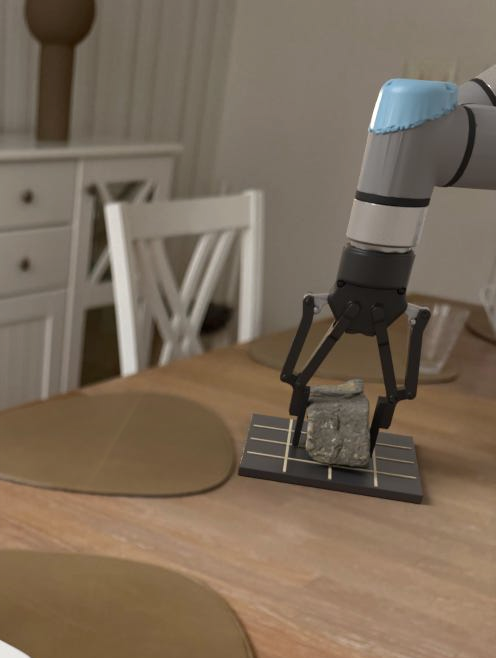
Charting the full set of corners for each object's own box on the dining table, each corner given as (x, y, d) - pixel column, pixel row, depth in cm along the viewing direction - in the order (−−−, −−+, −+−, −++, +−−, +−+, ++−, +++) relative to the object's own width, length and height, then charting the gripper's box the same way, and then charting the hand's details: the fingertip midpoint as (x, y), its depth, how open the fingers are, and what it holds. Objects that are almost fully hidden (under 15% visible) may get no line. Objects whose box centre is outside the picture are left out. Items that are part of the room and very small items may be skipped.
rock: (272, 386, 121) (352, 368, 121) (276, 437, 125) (354, 420, 124) (316, 429, 106) (408, 410, 106) (319, 487, 110) (408, 468, 109)
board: (410, 444, 124) (413, 435, 123) (421, 504, 107) (423, 494, 106) (251, 420, 128) (252, 411, 127) (237, 474, 111) (239, 465, 111)
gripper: (478, 250, 106) (419, 450, 118) (284, 229, 110) (246, 424, 122) (486, 262, 99) (423, 472, 111) (280, 239, 104) (241, 444, 116)
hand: (331, 447), depth 117 cm, fingers closed on rock, 8 cm apart
